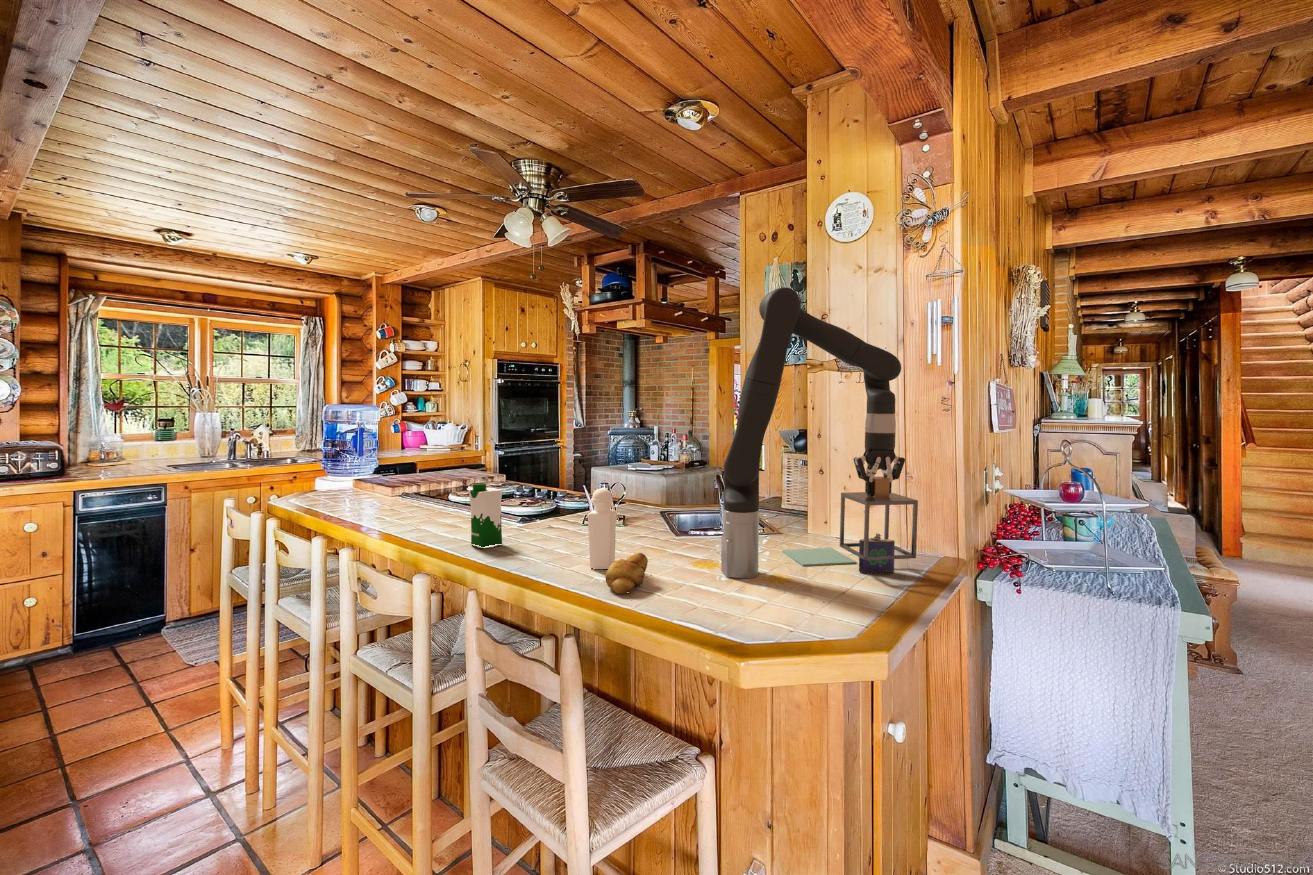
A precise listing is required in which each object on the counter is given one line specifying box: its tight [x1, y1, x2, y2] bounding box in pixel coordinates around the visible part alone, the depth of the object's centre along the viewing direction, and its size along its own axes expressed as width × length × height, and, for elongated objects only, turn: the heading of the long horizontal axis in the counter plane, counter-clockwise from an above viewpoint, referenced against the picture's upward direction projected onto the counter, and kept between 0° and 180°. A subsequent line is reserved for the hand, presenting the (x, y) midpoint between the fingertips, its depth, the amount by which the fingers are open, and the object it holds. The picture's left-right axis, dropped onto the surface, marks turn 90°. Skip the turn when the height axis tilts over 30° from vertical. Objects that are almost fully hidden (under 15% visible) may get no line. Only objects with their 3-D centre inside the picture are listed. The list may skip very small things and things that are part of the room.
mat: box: [781, 547, 858, 567], centre depth 173 cm, size 16×16×1 cm
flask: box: [858, 533, 896, 575], centre depth 157 cm, size 9×3×11 cm, turn 88°
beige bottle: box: [587, 487, 617, 569], centre depth 163 cm, size 6×6×22 cm
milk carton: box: [468, 482, 503, 547], centre depth 187 cm, size 9×9×20 cm
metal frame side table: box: [839, 476, 919, 560], centre depth 156 cm, size 14×14×20 cm
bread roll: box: [604, 552, 649, 594], centre depth 145 cm, size 13×10×8 cm
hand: (878, 495), depth 156 cm, fingers closed on metal frame side table, 4 cm apart
